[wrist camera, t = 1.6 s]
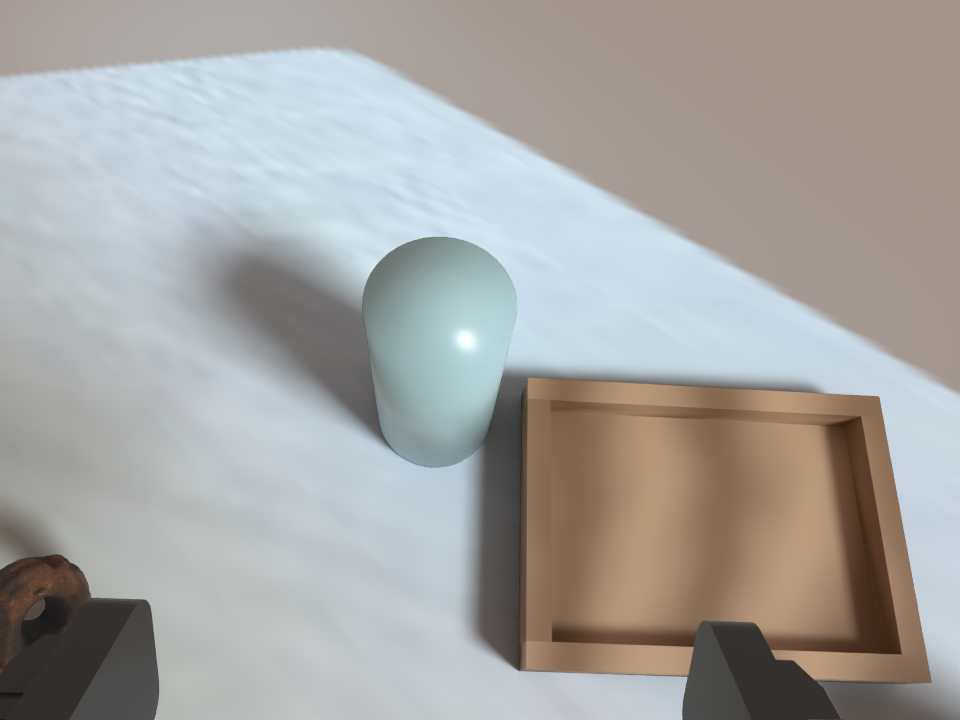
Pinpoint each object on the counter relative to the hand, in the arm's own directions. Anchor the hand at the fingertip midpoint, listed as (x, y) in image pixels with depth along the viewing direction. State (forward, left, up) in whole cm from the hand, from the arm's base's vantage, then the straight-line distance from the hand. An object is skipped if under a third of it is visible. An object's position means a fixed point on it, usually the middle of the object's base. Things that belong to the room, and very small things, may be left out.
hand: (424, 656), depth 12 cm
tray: (+12, +7, -22) cm, 26 cm away
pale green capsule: (0, +12, -22) cm, 25 cm away
